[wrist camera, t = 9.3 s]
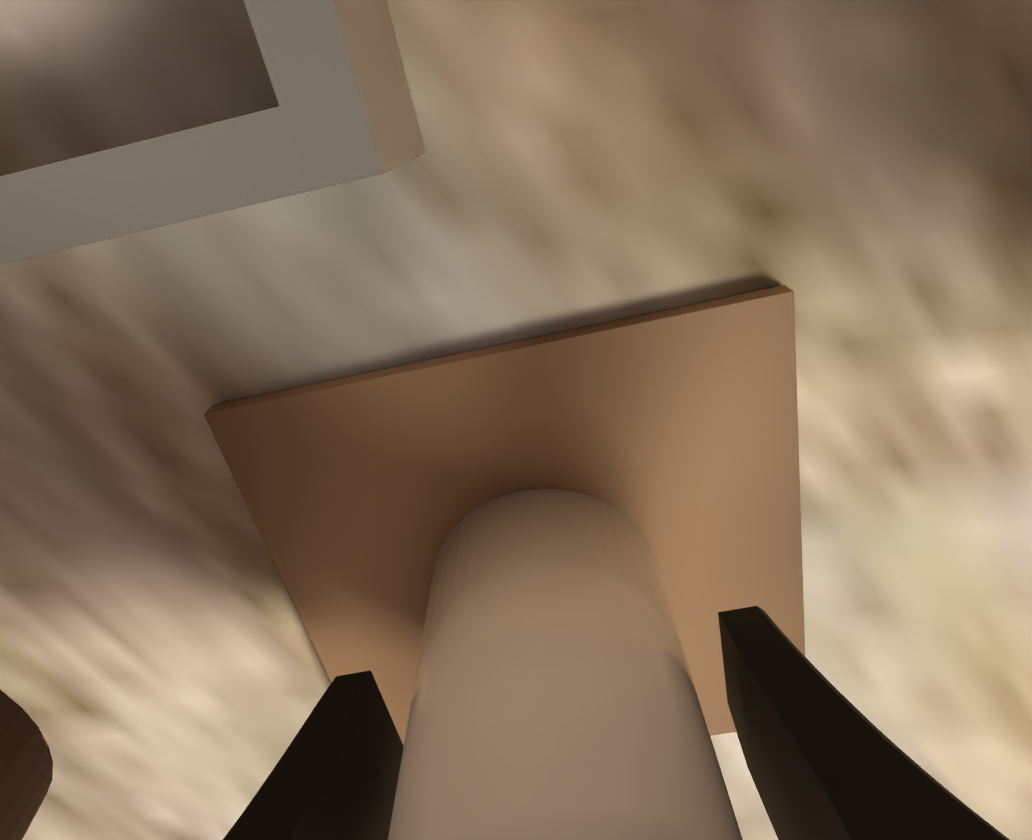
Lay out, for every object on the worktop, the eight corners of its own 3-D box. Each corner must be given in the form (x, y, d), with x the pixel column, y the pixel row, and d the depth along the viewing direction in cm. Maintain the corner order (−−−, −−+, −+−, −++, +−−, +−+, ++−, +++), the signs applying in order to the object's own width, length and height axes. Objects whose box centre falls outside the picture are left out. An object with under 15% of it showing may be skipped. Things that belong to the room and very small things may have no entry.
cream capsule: (632, 464, 12) (737, 776, 6) (673, 641, 13) (782, 1001, 8) (401, 520, 12) (310, 854, 7) (471, 683, 14) (445, 1048, 9)
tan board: (783, 285, 11) (793, 291, 10) (799, 706, 15) (807, 720, 14) (213, 404, 11) (203, 414, 11) (382, 769, 16) (379, 785, 15)
